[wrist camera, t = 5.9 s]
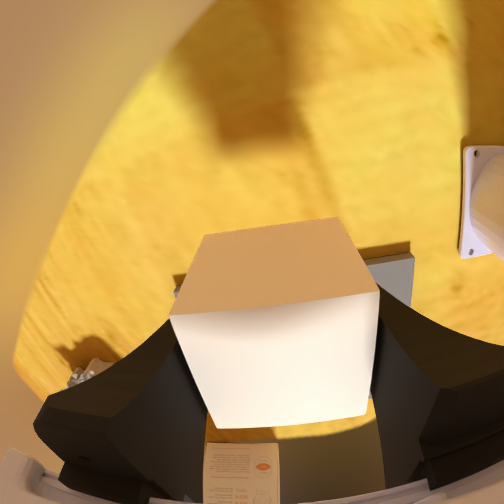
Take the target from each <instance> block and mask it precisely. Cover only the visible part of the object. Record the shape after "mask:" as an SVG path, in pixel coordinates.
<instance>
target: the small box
mask: <svg viewBox="0 0 504 504" xmlns="http://www.w3.org/2000/svg"><path fill="white" fill-rule="evenodd" d="M279 478H280V477H279V452H278V444H277V443H209V442H208V443H207V446H206V452H205V459H204V464H203V504H280V479H279Z"/></svg>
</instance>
